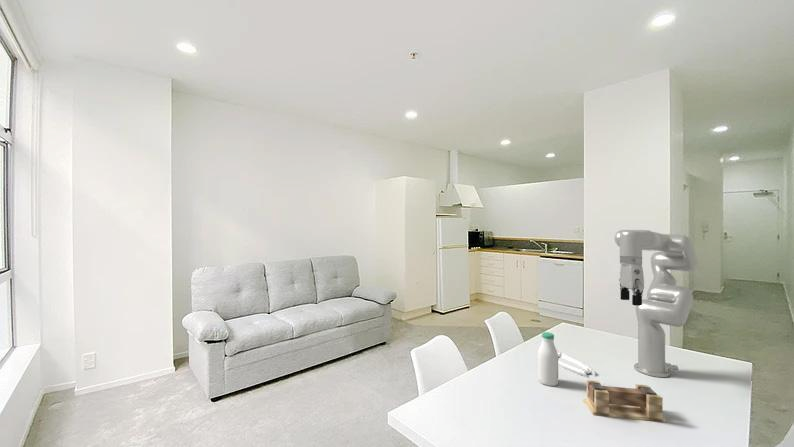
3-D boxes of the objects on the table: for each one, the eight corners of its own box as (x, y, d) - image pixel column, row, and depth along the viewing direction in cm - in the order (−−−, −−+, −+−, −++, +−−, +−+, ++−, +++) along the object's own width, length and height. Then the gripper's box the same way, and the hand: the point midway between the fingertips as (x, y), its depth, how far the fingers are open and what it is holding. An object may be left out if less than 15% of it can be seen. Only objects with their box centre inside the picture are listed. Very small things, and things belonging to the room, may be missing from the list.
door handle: (557, 354, 166) (600, 376, 142) (540, 356, 164) (581, 379, 140) (557, 349, 166) (600, 370, 142) (540, 351, 164) (581, 372, 140)
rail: (652, 403, 115) (652, 388, 115) (658, 408, 111) (658, 393, 111) (589, 397, 118) (589, 382, 118) (593, 402, 115) (593, 387, 115)
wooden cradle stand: (651, 408, 117) (651, 385, 117) (666, 422, 108) (666, 398, 108) (583, 401, 121) (583, 379, 121) (592, 414, 112) (592, 391, 113)
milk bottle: (557, 388, 131) (557, 338, 131) (536, 383, 135) (536, 334, 135) (559, 380, 137) (559, 332, 137) (539, 376, 141) (539, 329, 142)
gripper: (653, 263, 126) (653, 308, 126) (630, 258, 143) (630, 298, 143) (631, 262, 127) (631, 307, 127) (611, 258, 144) (611, 297, 144)
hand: (630, 302), depth 135 cm, fingers open, 9 cm apart
